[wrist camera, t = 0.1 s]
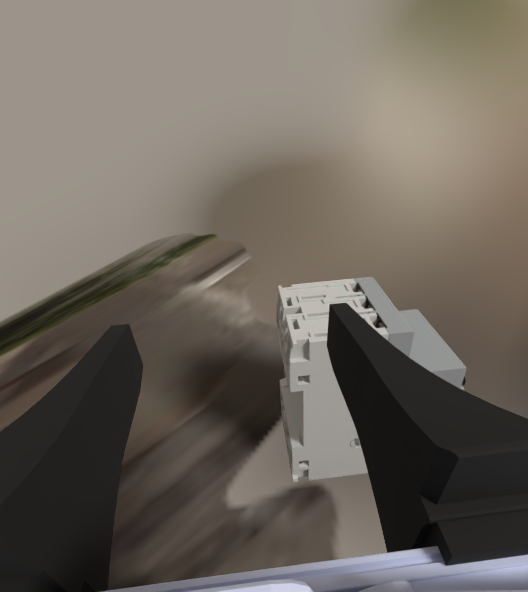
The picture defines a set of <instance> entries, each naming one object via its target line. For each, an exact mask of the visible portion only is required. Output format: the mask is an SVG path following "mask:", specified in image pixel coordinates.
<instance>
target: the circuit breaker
mask: <svg viewBox="0 0 528 592" xmlns="http://www.w3.org/2000/svg"><path fill="white" fill-rule="evenodd" d="M336 303H347V304H348V305H349V306H350V307H352V308H353V309H354V310H355V311H356V312H357V313H358V314H359V315H360V316H361V317H362V318H363V319H364V320H365V321H366V322H367V323H368V324H369V325H370V326H372V327H373V328H374V329H375V330H376V331H377V332H378V333H379V334H381V335H382V336H383V337H384V338H385V339H386V340H387V341H389V342H390V343H391V344H392V345H394V346H395V347H396V348H397V349H399V350H400V351H401V352H403V353H404V354H405V355H407V356H408V357H409V358H411V359H412V360H414V361H415V362H417V363H418V364H420V365H421V366H423V367H424V368H426V369H427V370H429V371H430V372H432V373H433V374H435V375H437V376H438V377H440V378H442V379H444V380H445V381H447V382H449V383H451V384H453V385H454V386H456V387H458V388H460V389H462V390H464V388H463V387H462V385H464V384H465V376H464V375H465V372H466V367H465V366H464V364H463V363H462V362H461V361H460V360H459V358H458V357H457V356H456V355H455V354H454V352H453V351H452V350H451V349H450V348H449V346H448V345H447V344H446V343H445V342H444V341H443V339H442V338H441V337H440V336H439V335H438V333H437V332H436V331H435V330H434V329H433V327H432V326H431V325H430V324H429V323H428V321H427V320H426V319H425V318H424V317H423V315H422V314H421V313H420V312H419V311H418V310H417V309H416V310H406V311H398V310H397V309H396V308H395V306H394V305H393V304H392V302H391V301H390V300H389V298H388V297H387V296H386V294H385V293H384V291H383V290H382V289H381V288H380V286H379V285H378V283H377V282H376V281H375V280H374V278H373V277H366V278H356V279H345V280H334V281H325V282H314V283H304V284H294V285H291V287H288V288H282V287H281V286H278V301H277V304H276V316H277V330H278V335H279V340H280V349H281V354H282V359H283V364H284V369H285V374H286V378H284V379H281V380H280V397H281V414H282V420H283V426H284V431H285V437H286V443H287V449H288V455H289V461H290V467H291V473H292V479H293V482H298V477H304V476H308V480H315V479H323V478H331V477H339V476H346V475H355V474H363V473H368V470H367V466H366V463H365V459H364V455H363V452H362V448H361V445H360V441H359V438H358V434H357V431H356V428H355V425H354V423H353V420H352V417H351V415H350V412H349V410H348V407H347V405H346V402H345V400H344V397H343V395H342V392H341V390H340V387H339V385H338V382H337V379H336V377H335V374H334V372H333V369H332V365H331V361H330V357H329V353H328V349H327V334H328V319H329V305H330V304H336ZM287 378H288V379H287Z"/></svg>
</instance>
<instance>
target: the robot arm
mask: <svg viewBox="0 0 528 592" xmlns="http://www.w3.org/2000/svg"><path fill="white" fill-rule="evenodd" d="M327 349H328V353H329V357H330V361H331V365H332V369H333V372H334V374H335V377H336V379H337V382H338V385H339V387H340V390H341V392H342V395H343V397H344V400H345V402H346V405H347V407H348V410H349V412H350V415H351V417H352V420H353V423H354V425H355V428H356V431H357V434H358V438H359V441H360V445H361V448H362V452H363V455H364V459H365V463H366V466H367V470H368V474H369V478H370V481H371V485H372V489H373V493H374V497H375V501H376V505H377V509H378V514H379V518H380V522H381V526H382V530H383V535H384V539H385V544H386V548H387V553H381V554H374V555H367V556H359V557H352V558H345V559H337V560H330V561H322V562H315V563H308V564H300V565H293V566H285V567H278V568H271V569H263V570H256V571H249V572H241V573H234V574H226V575H219V576H212V577H204V578H197V579H189V580H182V581H175V582H167V583H160V584H152V585H145V586H138V587H130V588H123V589H116V590H108V591H107V589H108V576H109V564H110V552H111V543H112V534H113V524H114V516H115V508H116V501H117V493H118V486H119V479H120V473H121V466H122V460H123V456H124V451H125V447H126V443H127V439H128V436H129V432H130V428H131V424H132V420H133V417H134V413H135V409H136V405H137V401H138V397H139V393H140V388H141V380H142V371H143V363H142V360H141V357H140V354H139V351H138V349H137V346H136V343H135V340H134V337H133V334H132V331H131V329H130V326H129V324H125V325H115V326H111V327H110V328H109V329H108V330H107V331H106V332H105V333H104V335H103V336H102V337H101V338H100V339H99V340H98V341H97V342H96V344H95V345H94V346H93V347H92V348H91V349H90V350H89V351H88V352H87V354H86V355H85V356H84V357H83V358H82V359H81V360H80V361H79V362H78V363H77V364H76V366H75V367H74V368H73V369H72V370H71V371H70V372H69V373H68V374H67V375H66V376H65V377H64V378H63V379H62V380H61V381H60V382H59V383H58V384H57V385H56V386H55V387H54V388H53V389H52V390H51V391H49V392H48V393H47V394H46V395H45V396H44V397H43V398H42V399H41V400H40V401H38V402H37V403H36V404H35V405H34V406H32V407H31V408H30V409H29V410H28V411H27V412H25V413H24V414H23V415H22V416H20V417H19V418H18V419H17V420H15V421H14V422H13V423H11V424H10V425H9V426H7V427H6V428H5V429H3V430H2V431H1V432H0V592H528V419H526V418H524V417H522V416H519V415H517V414H514V413H512V412H509V411H507V410H505V409H502V408H500V407H497V406H495V405H493V404H490V403H488V402H486V401H484V400H482V399H480V398H478V397H475V396H474V395H471V394H469V393H468V392H466V391H464V390H462V389H460V388H458V387H456V386H454V385H453V384H451V383H449V382H447V381H445V380H444V379H442V378H440V377H438V376H437V375H435V374H433V373H432V372H430V371H429V370H427V369H426V368H424V367H423V366H421V365H420V364H418V363H417V362H415V361H414V360H412V359H411V358H409V357H408V356H407V355H405V354H404V353H403V352H401V351H400V350H399V349H397V348H396V347H395V346H394V345H392V344H391V343H390V342H389V341H387V340H386V339H385V338H384V337H383V336H382V335H381V334H379V333H378V332H377V331H376V330H375V329H374V328H373V327H372V326H370V325H369V324H368V323H367V322H366V321H365V320H364V319H363V318H362V317H361V316H360V315H359V314H358V313H357V312H356V311H355V310H354V309H353V308H352V307H350V306H349V305H348V304H347V303H336V304H330V305H329V319H328V334H327Z"/></svg>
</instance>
